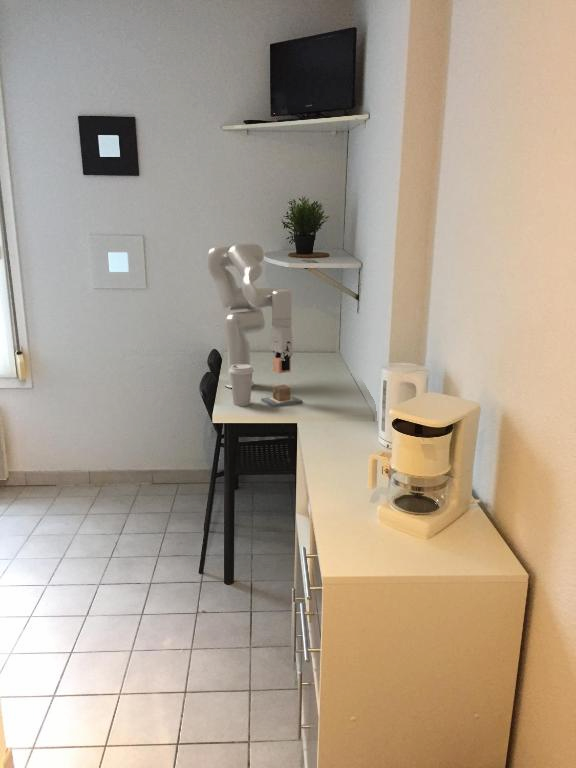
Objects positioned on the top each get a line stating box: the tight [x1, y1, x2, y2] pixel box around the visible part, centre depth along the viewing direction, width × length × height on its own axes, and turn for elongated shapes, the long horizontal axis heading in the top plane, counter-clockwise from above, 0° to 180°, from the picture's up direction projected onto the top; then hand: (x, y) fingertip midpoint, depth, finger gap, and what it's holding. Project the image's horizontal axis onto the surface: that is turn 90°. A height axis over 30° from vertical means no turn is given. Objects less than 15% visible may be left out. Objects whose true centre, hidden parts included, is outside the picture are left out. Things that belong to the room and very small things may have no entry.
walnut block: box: [272, 384, 291, 401], centre depth 257 cm, size 5×5×5 cm
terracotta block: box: [272, 356, 292, 374], centre depth 253 cm, size 5×5×5 cm
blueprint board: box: [260, 393, 303, 408], centre depth 257 cm, size 10×13×1 cm
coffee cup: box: [229, 364, 254, 407], centre depth 253 cm, size 10×10×15 cm
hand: (282, 368), depth 254 cm, fingers closed on terracotta block, 4 cm apart
